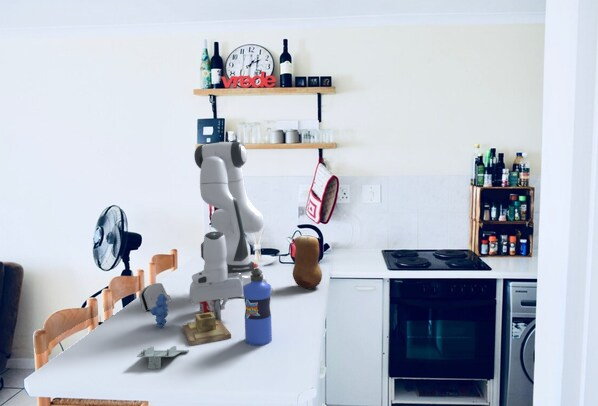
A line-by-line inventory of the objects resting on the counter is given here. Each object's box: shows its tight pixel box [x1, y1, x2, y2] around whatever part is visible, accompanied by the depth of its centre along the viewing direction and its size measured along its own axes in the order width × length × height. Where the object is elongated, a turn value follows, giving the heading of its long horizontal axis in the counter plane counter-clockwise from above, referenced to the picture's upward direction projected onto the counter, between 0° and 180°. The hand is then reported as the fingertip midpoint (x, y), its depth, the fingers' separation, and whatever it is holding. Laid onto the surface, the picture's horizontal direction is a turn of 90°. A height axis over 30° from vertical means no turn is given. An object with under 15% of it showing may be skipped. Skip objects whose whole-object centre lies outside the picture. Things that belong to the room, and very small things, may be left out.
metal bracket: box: [136, 345, 190, 370], centre depth 145 cm, size 14×6×15 cm
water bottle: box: [243, 267, 273, 347], centre depth 157 cm, size 9×9×25 cm
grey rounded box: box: [138, 282, 172, 312], centre depth 197 cm, size 17×5×10 cm, turn 171°
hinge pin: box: [213, 299, 222, 321], centre depth 177 cm, size 3×3×9 cm
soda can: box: [198, 300, 214, 314], centre depth 187 cm, size 7×7×12 cm
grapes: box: [149, 294, 169, 329], centre depth 172 cm, size 12×7×12 cm, turn 7°
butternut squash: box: [292, 234, 323, 290], centre depth 218 cm, size 14×13×25 cm
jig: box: [181, 312, 232, 346], centre depth 165 cm, size 14×16×6 cm
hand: (217, 310), depth 177 cm, fingers closed on hinge pin, 3 cm apart
